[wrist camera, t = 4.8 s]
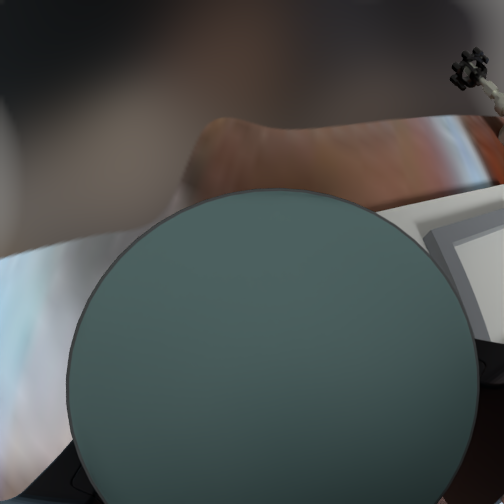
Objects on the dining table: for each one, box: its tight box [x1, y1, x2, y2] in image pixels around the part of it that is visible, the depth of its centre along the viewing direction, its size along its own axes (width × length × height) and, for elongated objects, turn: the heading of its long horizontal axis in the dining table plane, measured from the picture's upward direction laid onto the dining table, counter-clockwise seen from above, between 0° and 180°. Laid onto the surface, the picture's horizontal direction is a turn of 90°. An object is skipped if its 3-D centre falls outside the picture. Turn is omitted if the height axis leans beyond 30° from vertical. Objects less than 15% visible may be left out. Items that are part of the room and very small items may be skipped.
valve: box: [450, 47, 504, 146], centre depth 24 cm, size 7×7×12 cm
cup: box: [66, 188, 480, 504], centre depth 9 cm, size 6×6×12 cm
